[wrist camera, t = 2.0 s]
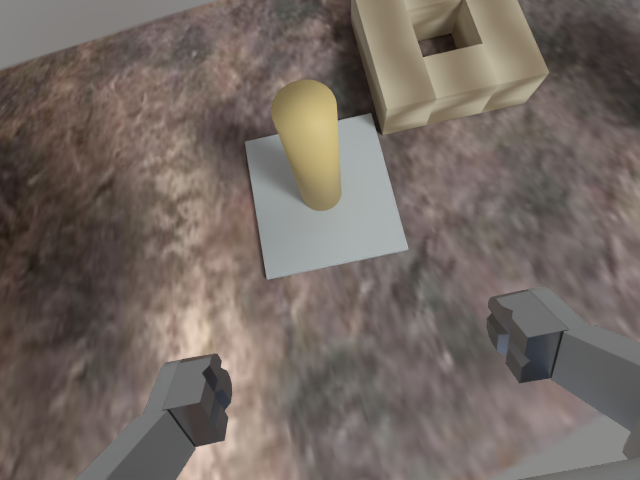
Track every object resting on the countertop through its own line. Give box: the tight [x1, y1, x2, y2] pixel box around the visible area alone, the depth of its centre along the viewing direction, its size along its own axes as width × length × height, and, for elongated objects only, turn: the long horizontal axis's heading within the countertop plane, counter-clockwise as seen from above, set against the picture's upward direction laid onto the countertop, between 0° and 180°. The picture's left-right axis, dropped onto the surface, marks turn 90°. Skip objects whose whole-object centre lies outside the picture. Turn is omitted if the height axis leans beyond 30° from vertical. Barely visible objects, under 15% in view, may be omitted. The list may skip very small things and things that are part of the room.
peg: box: [271, 80, 341, 211], centre depth 22 cm, size 3×3×11 cm
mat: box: [245, 113, 408, 280], centre depth 27 cm, size 11×12×1 cm
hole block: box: [351, 0, 549, 135], centre depth 28 cm, size 12×12×4 cm
